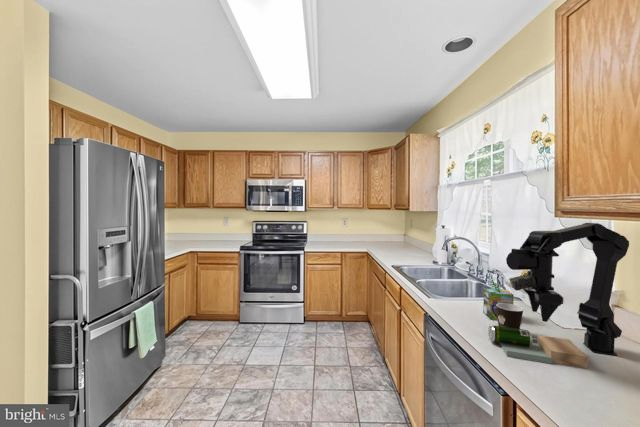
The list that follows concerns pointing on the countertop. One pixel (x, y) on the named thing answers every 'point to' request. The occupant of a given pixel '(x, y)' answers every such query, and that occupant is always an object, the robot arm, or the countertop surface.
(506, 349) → the grey-green tray
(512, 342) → the beer can
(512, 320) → the coffee mug
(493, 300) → the chalk box
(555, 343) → the tan block
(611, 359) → the countertop surface
